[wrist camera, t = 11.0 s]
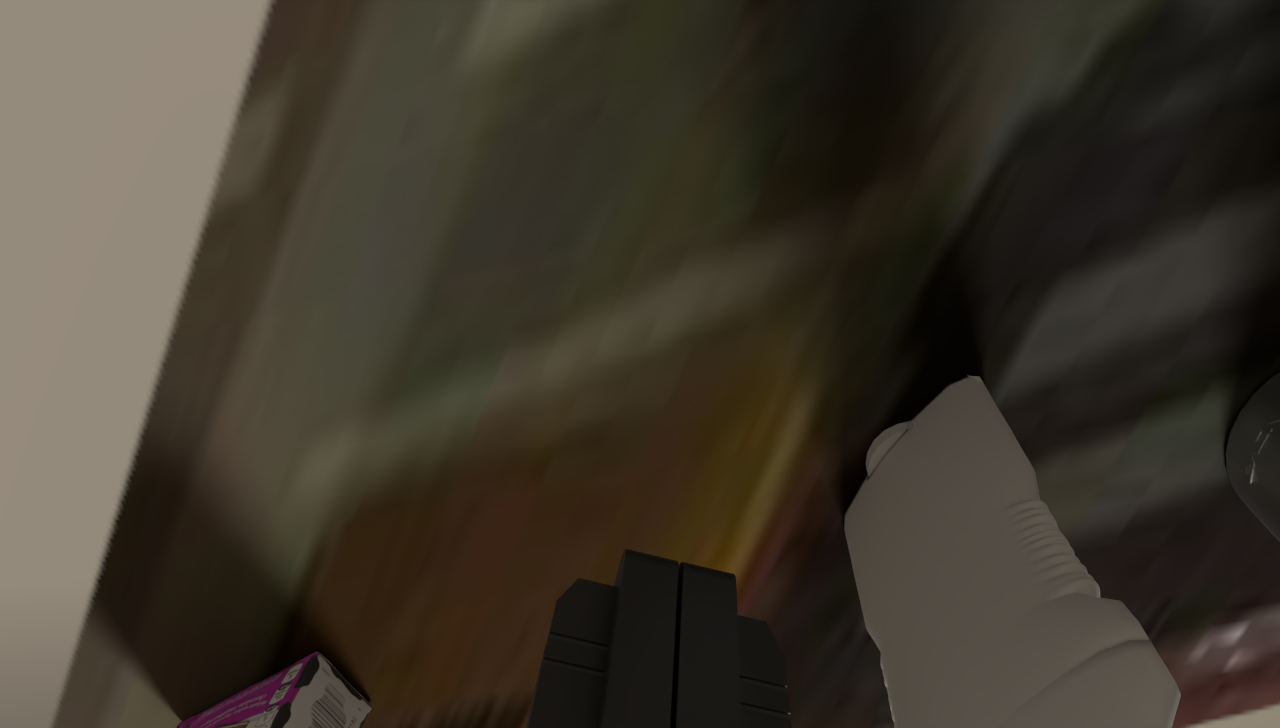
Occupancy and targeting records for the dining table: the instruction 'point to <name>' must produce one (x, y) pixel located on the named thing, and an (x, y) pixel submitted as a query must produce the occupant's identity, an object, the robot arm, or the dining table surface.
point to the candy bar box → (290, 701)
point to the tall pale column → (988, 586)
